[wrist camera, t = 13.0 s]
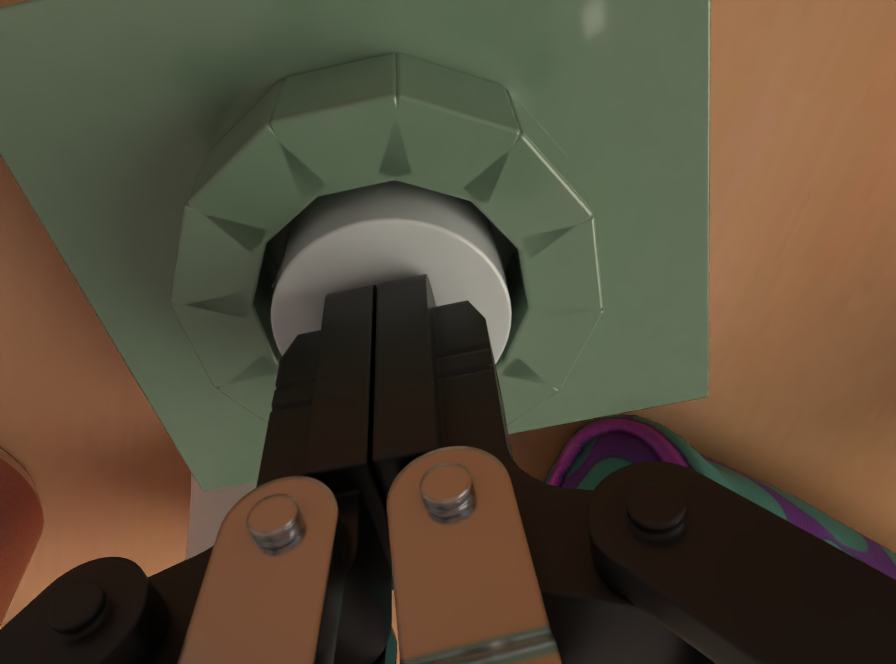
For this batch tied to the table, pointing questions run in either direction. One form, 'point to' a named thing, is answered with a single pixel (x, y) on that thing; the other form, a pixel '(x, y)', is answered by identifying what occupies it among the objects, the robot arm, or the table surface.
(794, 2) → the table surface
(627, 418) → the pencil case
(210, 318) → the socket base
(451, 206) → the white cylinder puck
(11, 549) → the beverage can
